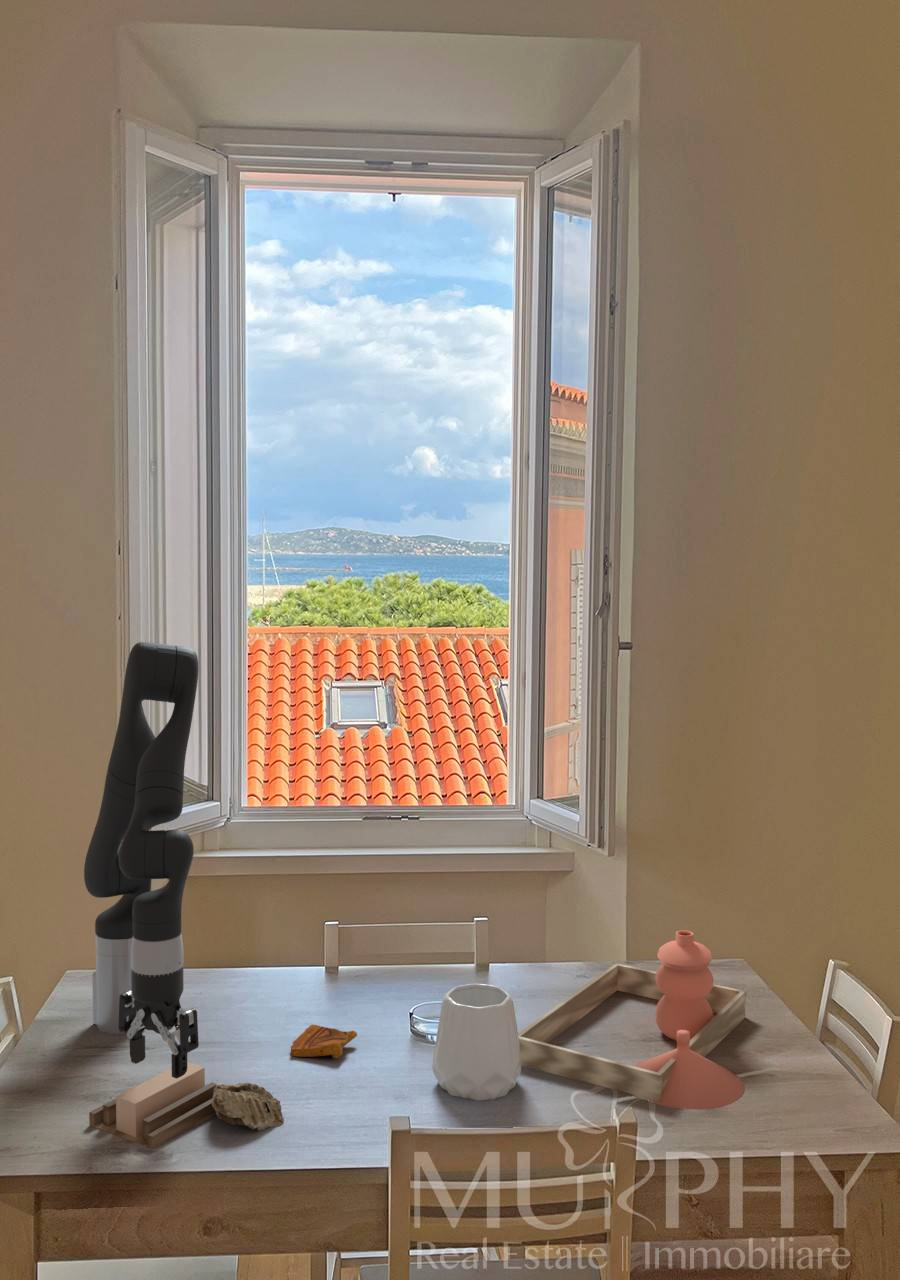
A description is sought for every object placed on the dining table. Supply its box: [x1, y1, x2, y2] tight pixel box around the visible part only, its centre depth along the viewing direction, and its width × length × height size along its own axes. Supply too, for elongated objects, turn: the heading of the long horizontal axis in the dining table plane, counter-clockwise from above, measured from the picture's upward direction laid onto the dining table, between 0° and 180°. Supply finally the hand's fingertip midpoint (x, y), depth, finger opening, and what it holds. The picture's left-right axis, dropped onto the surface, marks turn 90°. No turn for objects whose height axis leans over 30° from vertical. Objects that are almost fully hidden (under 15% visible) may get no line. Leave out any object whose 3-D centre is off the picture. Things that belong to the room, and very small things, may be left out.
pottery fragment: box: [290, 1024, 358, 1059], centre depth 204 cm, size 10×5×10 cm
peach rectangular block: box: [115, 1061, 206, 1137], centre depth 179 cm, size 14×4×5 cm, turn 148°
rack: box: [88, 1082, 218, 1149], centre depth 179 cm, size 13×16×4 cm
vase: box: [431, 983, 522, 1101], centre depth 190 cm, size 14×14×15 cm
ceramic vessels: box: [634, 929, 746, 1111], centre depth 198 cm, size 35×21×19 cm, turn 168°
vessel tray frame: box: [518, 963, 747, 1102], centre depth 208 cm, size 26×41×5 cm, turn 148°
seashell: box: [212, 1082, 285, 1132], centre depth 177 cm, size 11×7×10 cm
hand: (158, 1068), depth 178 cm, fingers open, 8 cm apart
